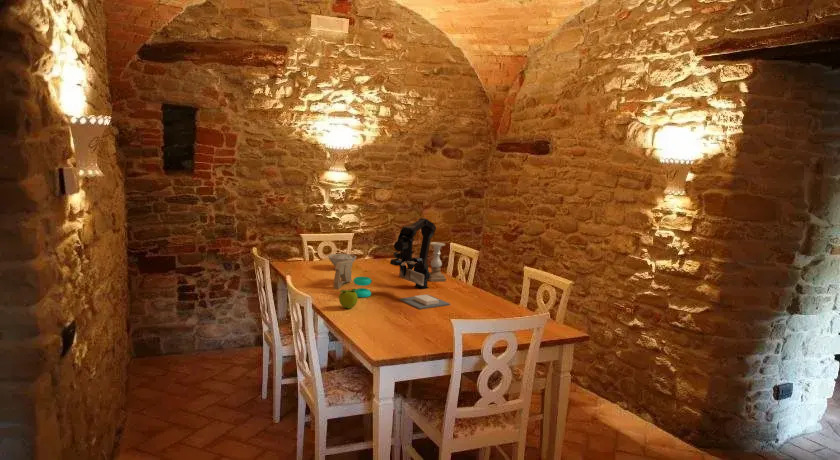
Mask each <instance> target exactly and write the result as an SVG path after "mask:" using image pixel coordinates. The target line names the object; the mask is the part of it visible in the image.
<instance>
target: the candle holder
mask: <svg viewBox="0 0 840 460" xmlns="http://www.w3.org/2000/svg"><path fill="white" fill-rule="evenodd" d="M430 246H432V247H433V250H434V251H433V252H432V254H433V256H434V257H433V258H432V260H431V262H430V266H431V271H429V272H430V278H429V279H428V281H429V283H430V282H432V283H433V282H435V283H436V282H439V283H440V282H446V281H447V278H446V277H445V275H444V274H443V273H442V272H441V267H442V265H443V262H442V260H441V258H440V256H441V254H442V253H441V248H442V247H444V246H446V243H444V242H441V241H430Z"/></svg>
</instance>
